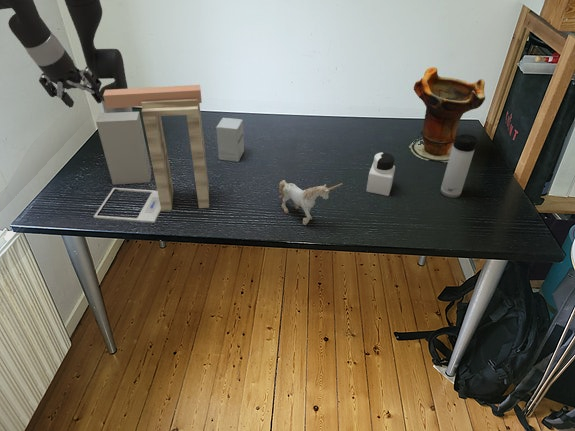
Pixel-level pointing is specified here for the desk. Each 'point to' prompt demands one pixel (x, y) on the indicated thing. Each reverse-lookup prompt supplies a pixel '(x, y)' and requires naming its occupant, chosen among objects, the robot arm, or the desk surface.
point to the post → (124, 147)
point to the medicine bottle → (381, 174)
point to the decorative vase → (443, 112)
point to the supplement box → (230, 139)
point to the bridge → (159, 152)
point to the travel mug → (458, 165)
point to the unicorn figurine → (302, 197)
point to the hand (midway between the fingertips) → (86, 103)
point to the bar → (149, 95)
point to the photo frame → (146, 214)
